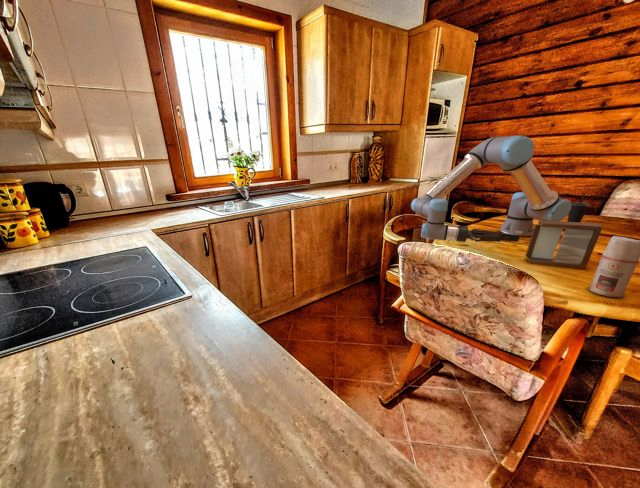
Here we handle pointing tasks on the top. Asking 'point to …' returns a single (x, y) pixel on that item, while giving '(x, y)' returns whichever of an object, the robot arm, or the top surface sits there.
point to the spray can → (616, 267)
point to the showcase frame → (572, 244)
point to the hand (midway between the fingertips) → (518, 238)
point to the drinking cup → (577, 211)
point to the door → (543, 242)
